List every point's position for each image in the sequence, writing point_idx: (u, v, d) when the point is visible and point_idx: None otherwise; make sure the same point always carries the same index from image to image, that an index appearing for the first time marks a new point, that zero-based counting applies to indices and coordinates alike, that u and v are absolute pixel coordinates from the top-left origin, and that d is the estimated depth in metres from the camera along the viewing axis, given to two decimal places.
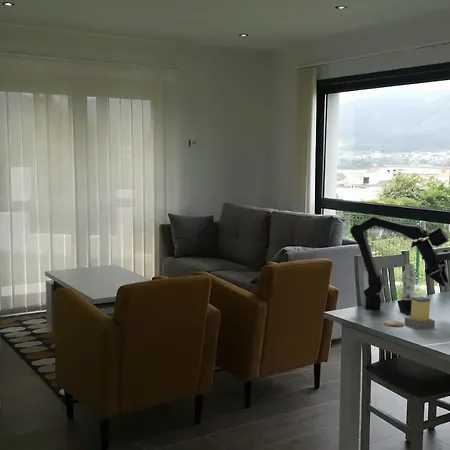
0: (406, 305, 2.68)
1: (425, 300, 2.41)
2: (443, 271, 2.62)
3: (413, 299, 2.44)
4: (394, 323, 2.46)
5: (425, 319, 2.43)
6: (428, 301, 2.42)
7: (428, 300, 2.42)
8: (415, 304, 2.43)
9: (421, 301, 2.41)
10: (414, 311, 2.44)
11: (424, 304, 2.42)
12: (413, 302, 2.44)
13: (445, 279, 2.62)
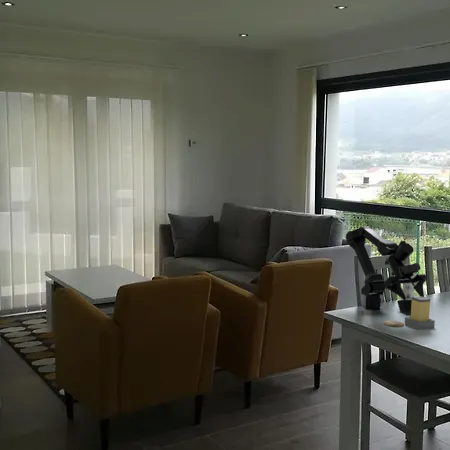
0: (406, 305, 2.68)
1: (425, 300, 2.41)
2: (419, 286, 2.51)
3: (413, 299, 2.44)
4: (394, 323, 2.46)
5: (425, 319, 2.43)
6: (428, 301, 2.42)
7: (428, 300, 2.42)
8: (415, 304, 2.43)
9: (421, 301, 2.41)
10: (414, 311, 2.44)
11: (424, 304, 2.42)
12: (413, 302, 2.44)
13: (421, 295, 2.50)
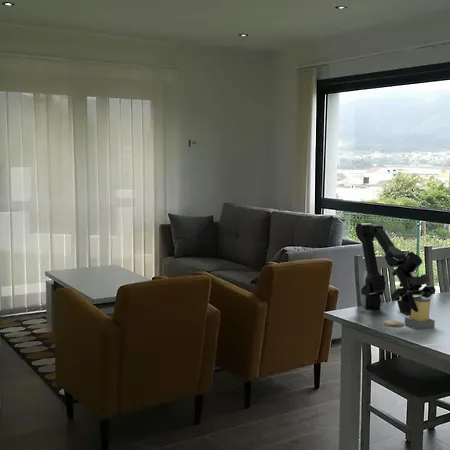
0: (406, 305, 2.68)
1: (425, 300, 2.41)
2: None
3: (413, 299, 2.44)
4: (394, 323, 2.46)
5: (425, 319, 2.43)
6: (428, 301, 2.42)
7: (428, 300, 2.42)
8: None
9: (421, 301, 2.41)
10: (414, 311, 2.44)
11: (424, 304, 2.42)
12: None
13: None
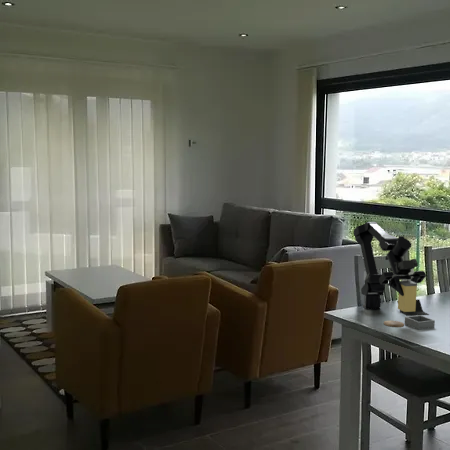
0: None
1: (411, 284, 2.41)
2: None
3: (400, 283, 2.44)
4: (394, 323, 2.46)
5: (411, 303, 2.42)
6: (415, 285, 2.41)
7: (415, 284, 2.41)
8: (402, 288, 2.43)
9: (407, 285, 2.41)
10: (401, 295, 2.44)
11: (410, 288, 2.41)
12: None
13: None
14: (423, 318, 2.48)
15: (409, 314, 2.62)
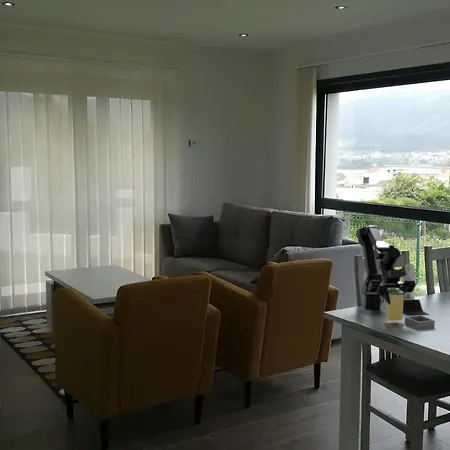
0: (406, 305, 2.68)
1: (398, 293, 2.42)
2: None
3: (388, 292, 2.46)
4: (394, 323, 2.46)
5: (398, 312, 2.43)
6: (401, 294, 2.43)
7: (401, 293, 2.42)
8: (389, 296, 2.45)
9: (393, 294, 2.42)
10: (388, 304, 2.46)
11: (396, 297, 2.43)
12: None
13: None
14: (423, 318, 2.48)
15: (409, 314, 2.62)
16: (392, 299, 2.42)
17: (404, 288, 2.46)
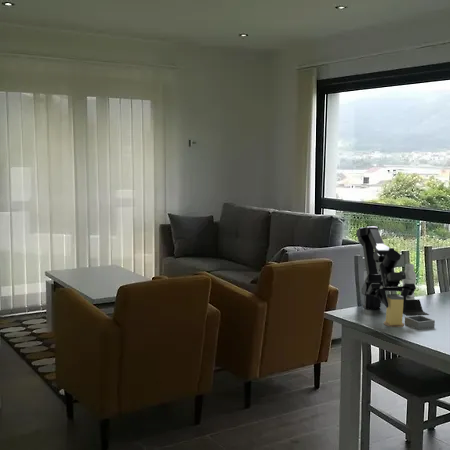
0: (406, 305, 2.68)
1: (397, 298, 2.43)
2: (402, 295, 2.47)
3: (388, 296, 2.46)
4: None
5: (398, 317, 2.44)
6: (401, 299, 2.43)
7: (401, 298, 2.43)
8: (388, 301, 2.45)
9: (393, 298, 2.42)
10: (388, 308, 2.46)
11: (396, 302, 2.43)
12: (387, 299, 2.46)
13: (403, 304, 2.45)
14: (423, 318, 2.48)
15: (409, 314, 2.62)
16: (392, 303, 2.43)
17: (406, 291, 2.46)
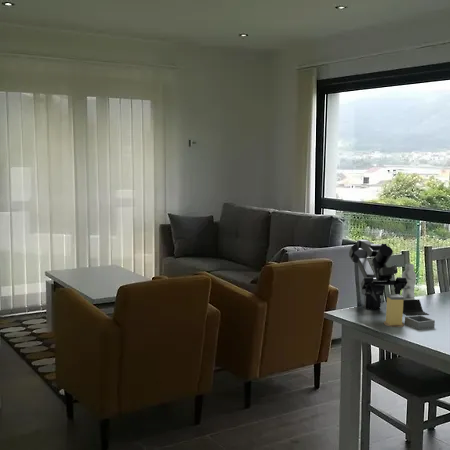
0: (406, 305, 2.68)
1: (397, 298, 2.43)
2: (397, 289, 2.56)
3: (388, 296, 2.46)
4: None
5: (398, 317, 2.44)
6: (401, 299, 2.43)
7: (401, 298, 2.43)
8: (388, 301, 2.45)
9: (393, 298, 2.42)
10: (388, 308, 2.46)
11: (396, 302, 2.43)
12: (387, 299, 2.46)
13: None
14: (423, 318, 2.48)
15: (409, 314, 2.62)
16: (392, 304, 2.43)
17: (400, 285, 2.56)
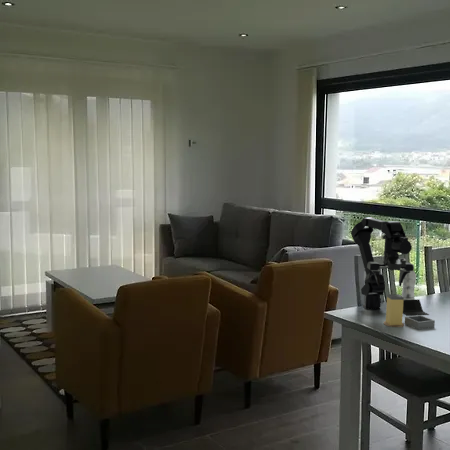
0: (406, 305, 2.68)
1: (397, 298, 2.43)
2: (401, 275, 2.59)
3: (388, 296, 2.46)
4: None
5: (398, 317, 2.44)
6: (401, 299, 2.43)
7: (401, 298, 2.43)
8: (388, 301, 2.45)
9: (393, 298, 2.42)
10: (388, 308, 2.46)
11: (396, 302, 2.43)
12: (387, 299, 2.46)
13: (399, 282, 2.61)
14: (423, 318, 2.48)
15: (409, 314, 2.62)
16: (392, 304, 2.43)
17: (405, 273, 2.58)
